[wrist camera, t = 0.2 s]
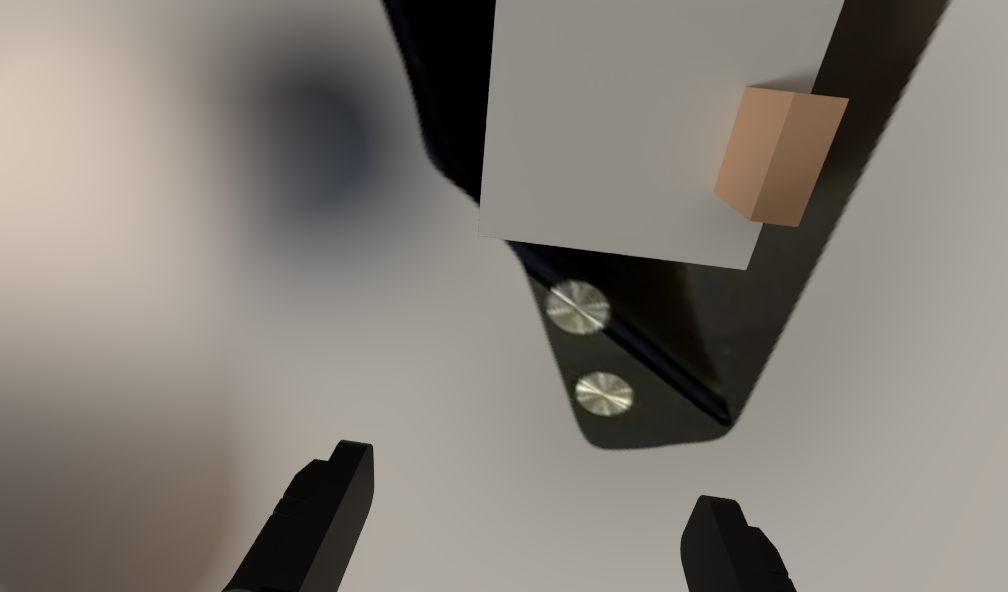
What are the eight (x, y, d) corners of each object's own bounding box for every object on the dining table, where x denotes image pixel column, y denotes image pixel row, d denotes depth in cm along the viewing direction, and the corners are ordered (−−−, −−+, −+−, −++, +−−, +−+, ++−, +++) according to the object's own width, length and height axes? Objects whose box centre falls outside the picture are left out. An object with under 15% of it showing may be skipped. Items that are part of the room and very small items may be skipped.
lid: (504, -35, 23) (485, -74, 16) (820, -1, 22) (932, -28, 16) (482, 224, 28) (462, 271, 22) (732, 255, 28) (786, 313, 21)
